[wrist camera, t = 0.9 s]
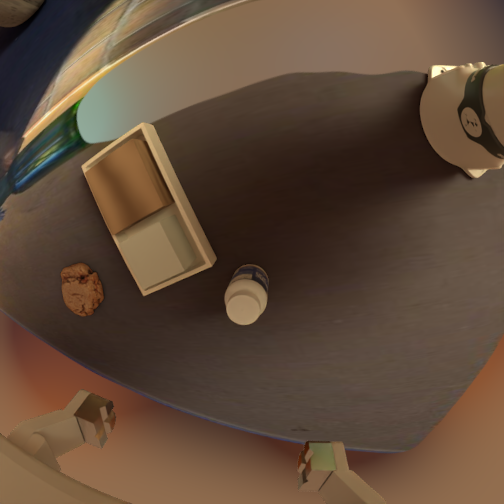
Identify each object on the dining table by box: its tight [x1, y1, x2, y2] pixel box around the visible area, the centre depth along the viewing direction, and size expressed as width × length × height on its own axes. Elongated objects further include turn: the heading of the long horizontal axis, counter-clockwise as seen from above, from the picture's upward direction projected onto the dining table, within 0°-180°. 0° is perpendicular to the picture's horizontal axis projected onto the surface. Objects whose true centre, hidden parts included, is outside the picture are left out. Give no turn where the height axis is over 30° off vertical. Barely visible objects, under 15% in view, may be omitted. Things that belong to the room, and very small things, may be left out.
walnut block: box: [85, 139, 175, 236], centre depth 38 cm, size 9×10×5 cm
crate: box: [81, 122, 217, 296], centre depth 40 cm, size 12×22×4 cm, turn 25°
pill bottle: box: [225, 264, 269, 325], centre depth 39 cm, size 5×5×10 cm
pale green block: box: [119, 214, 197, 289], centre depth 40 cm, size 7×7×6 cm
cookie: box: [61, 263, 104, 316], centre depth 46 cm, size 10×11×3 cm
